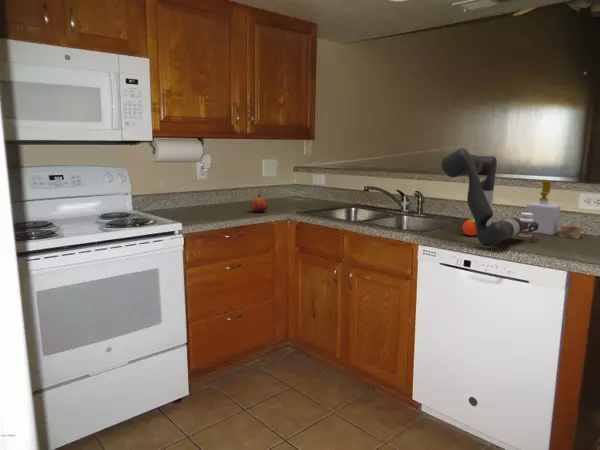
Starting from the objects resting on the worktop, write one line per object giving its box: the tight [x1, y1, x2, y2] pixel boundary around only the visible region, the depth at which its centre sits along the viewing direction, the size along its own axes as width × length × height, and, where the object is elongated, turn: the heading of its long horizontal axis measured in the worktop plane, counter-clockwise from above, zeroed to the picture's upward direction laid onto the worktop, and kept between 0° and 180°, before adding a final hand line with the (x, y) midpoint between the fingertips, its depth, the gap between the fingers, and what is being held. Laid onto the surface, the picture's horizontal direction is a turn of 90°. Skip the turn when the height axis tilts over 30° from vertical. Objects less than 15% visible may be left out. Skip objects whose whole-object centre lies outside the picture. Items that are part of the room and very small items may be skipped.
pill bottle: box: [517, 212, 534, 238], centre depth 191 cm, size 6×6×10 cm
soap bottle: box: [525, 179, 561, 236], centre depth 198 cm, size 12×7×23 cm, turn 45°
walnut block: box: [559, 223, 582, 240], centre depth 190 cm, size 7×7×5 cm
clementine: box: [461, 219, 477, 237], centre depth 192 cm, size 8×7×7 cm
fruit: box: [250, 194, 269, 213], centre depth 255 cm, size 11×10×10 cm
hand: (524, 222), depth 190 cm, fingers open, 8 cm apart
